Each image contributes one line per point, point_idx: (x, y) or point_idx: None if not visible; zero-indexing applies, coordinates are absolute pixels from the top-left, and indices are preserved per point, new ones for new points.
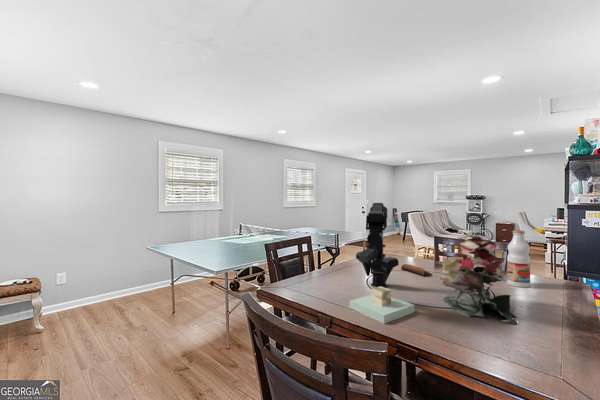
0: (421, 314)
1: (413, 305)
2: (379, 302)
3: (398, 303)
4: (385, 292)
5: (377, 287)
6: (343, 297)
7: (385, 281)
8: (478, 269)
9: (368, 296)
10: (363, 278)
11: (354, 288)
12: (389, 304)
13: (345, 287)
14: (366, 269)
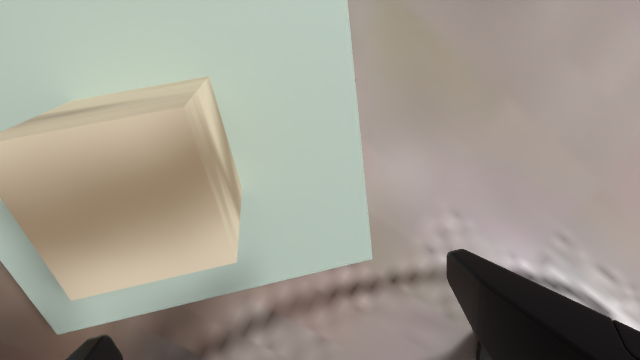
0: None
1: (53, 326)
2: (90, 102)
3: None
4: (22, 210)
5: (209, 213)
6: (526, 8)
7: (102, 351)
8: None
9: (340, 138)
10: (635, 312)
11: (581, 191)
12: None
13: (637, 148)
14: (545, 331)
